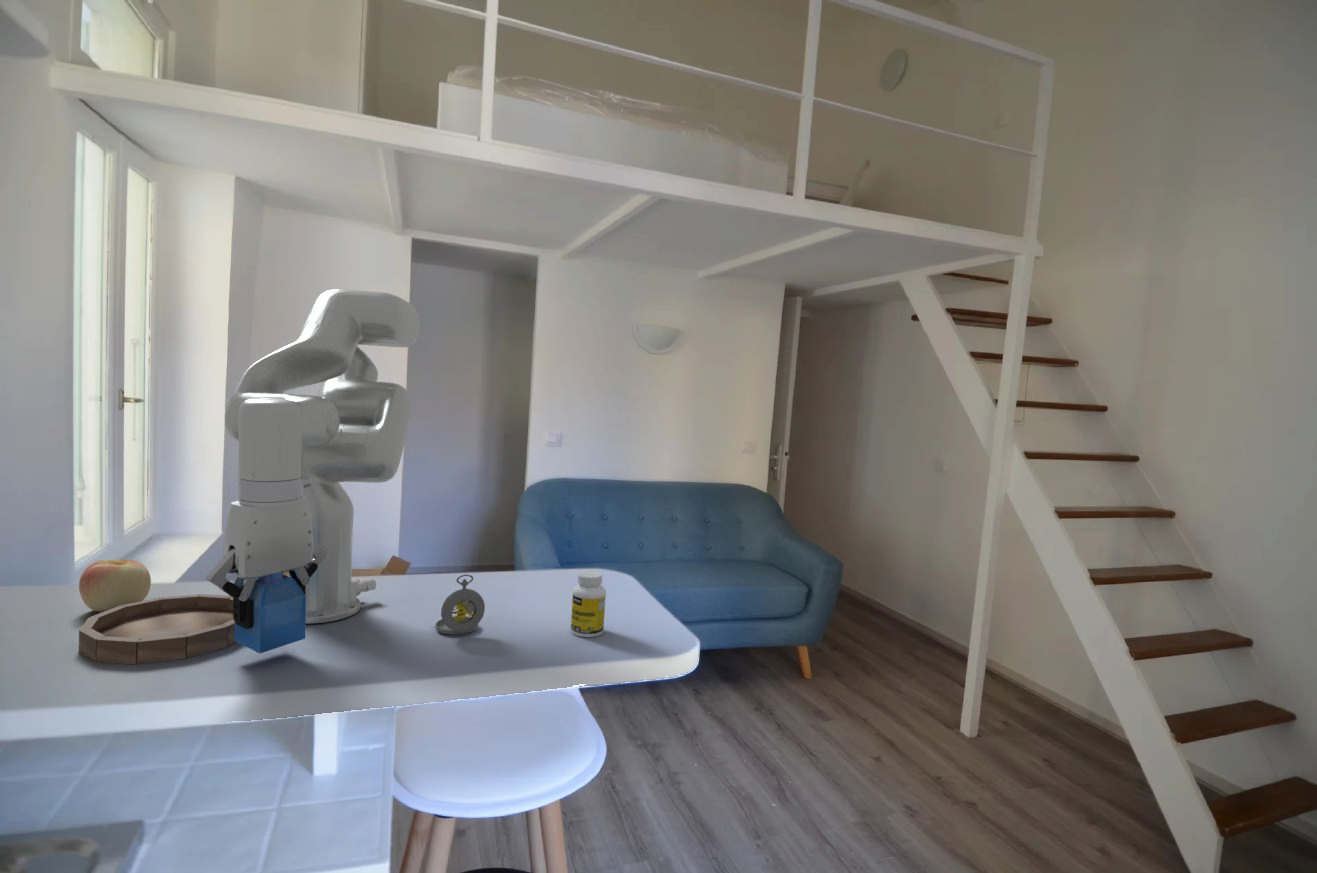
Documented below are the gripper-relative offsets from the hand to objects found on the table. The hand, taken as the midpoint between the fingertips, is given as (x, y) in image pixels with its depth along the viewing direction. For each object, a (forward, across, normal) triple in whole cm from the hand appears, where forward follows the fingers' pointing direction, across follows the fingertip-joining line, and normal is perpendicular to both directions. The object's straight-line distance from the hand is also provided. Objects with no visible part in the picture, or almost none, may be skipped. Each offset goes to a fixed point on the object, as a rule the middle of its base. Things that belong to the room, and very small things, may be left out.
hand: (270, 617), depth 91 cm
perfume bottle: (+3, 0, 0) cm, 3 cm away
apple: (+7, +4, -36) cm, 37 cm away
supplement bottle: (+7, -36, +28) cm, 46 cm away
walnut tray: (+6, +4, -18) cm, 20 cm away
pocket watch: (+7, -23, +12) cm, 27 cm away
